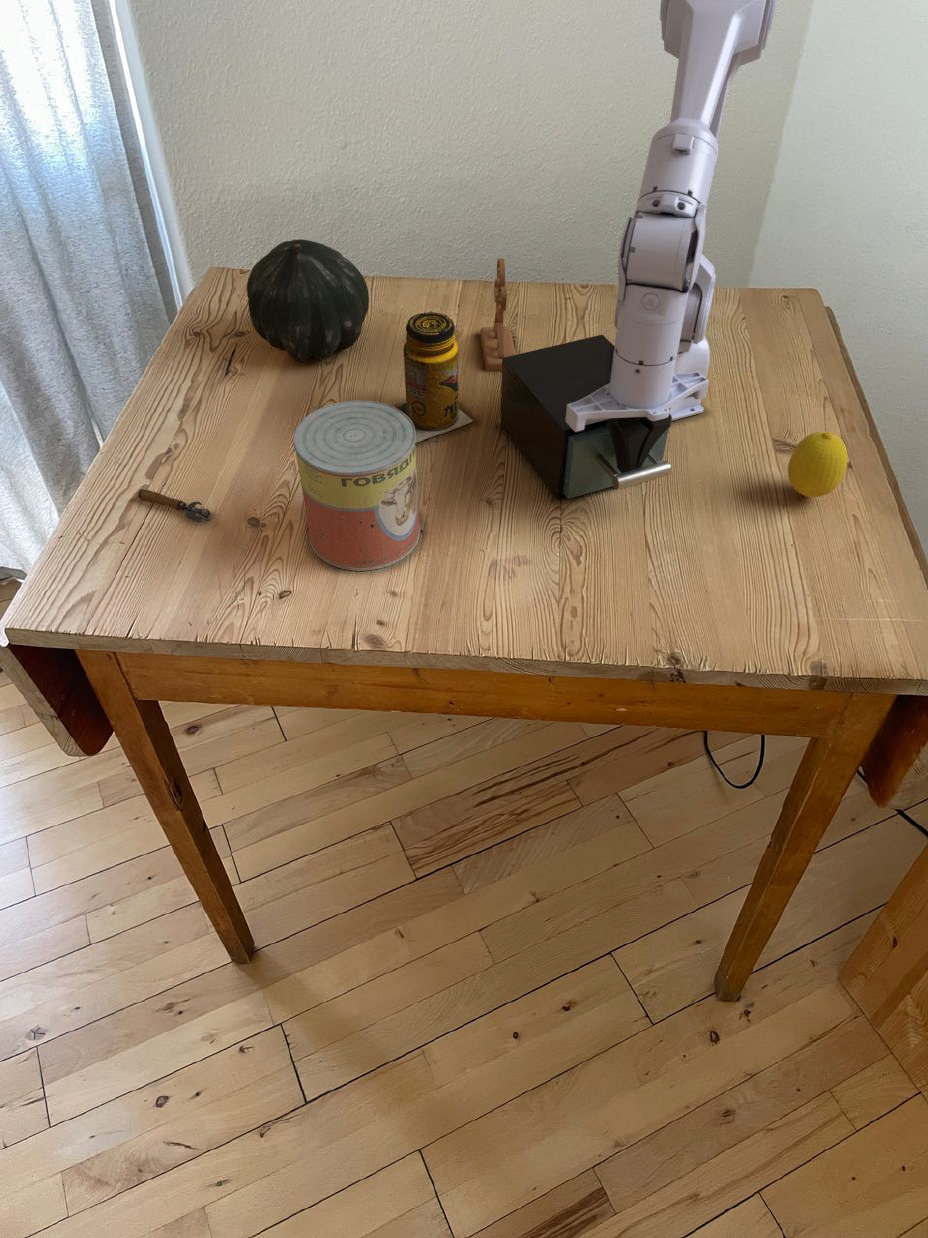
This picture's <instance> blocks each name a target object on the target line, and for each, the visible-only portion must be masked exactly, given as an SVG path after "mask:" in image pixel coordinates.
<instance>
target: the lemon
mask: <svg viewBox="0 0 928 1238" xmlns="http://www.w3.org/2000/svg"><path fill="white" fill-rule="evenodd" d="M848 457H849V456H848V450H847V447H846V444H845V442H844V441H843V440H842V439H841V438H840V437H839V436H838V435H836V434H834V433H833V432H831V431H817V432H813V433H810V434H808V435H806V436H805V437H803V438H802V440H800V442H799V443H798V444H797V445H796V446H795V448H794V450H793V451H792V453H791V456H790V458H789V462H788V466H787V477H788V481H789V483H790V485H791V486H792V488H793V489H794V490H795V491H796V493H798V494H800V495H802V496H803V497H805V498H818V497H823V496H825V495H828V494H830V493H831V492H832V491H834V490H835V489H836V488H838V486H839V484H840V483H841V481H843V479H844V476H845V474H846V471H847V467H848Z"/></svg>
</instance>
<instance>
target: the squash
mask: <svg viewBox="0 0 928 1238" xmlns="http://www.w3.org/2000/svg"><path fill="white" fill-rule="evenodd" d="M249 273H250V274H249V276H248V279H247V282H246V283H247V284H246V295H247V299H248V303H247V304H248V305H247V306H248V313H249V316H250V321H251V324H252V327H253V328H254V330H255V332H256V333H257V334H258V335H259V336H260V337H261V338H262V339H264V340H265V341H266V342H267V343H268V344H269V345H270V346H271V347H273V348H275V349H277V350H281V351H285V352H287V353H288V355H289V356H290V357H291V358H292V359H294V360H296V361H297V362H304V361H307V360H308V359H309V358H310V357H311V356H312V355H313V356H314V357H315V358H316V359H319V360H323V361H324V360H327V359H329V358H330V357H331V356H332V355H334V353H335V352H336V350H338V351H344V350H347V349H349V348H351V347H352V346H354V345H355V344H356V342H357V341H358V340H359V338H360V335H361V334H362V329H363V324H364V322H365V320H366V317H367V314H368V311H369V307H370V306H369V305H370V295H369V287H368V285H367V283H366V280H365V278H364V276H363V274H362V273H361V272H360V270H359V269H358V268H357V267H356V265H354V263H352V262H351V261H350V260H349V259H348V258H346V257H345V256H344V255H343V254H342V253H340V252H339V251H338V250H336V249H335V248H332V247H329V245H325V244H323V243H320V242H316V241H312V240H309V239H301V238H300V239H291V240H286V241H283V242H280V243H279V244H277V245H276V246H274V247H273V248H272V249H270V251H269V252H268V253H267V254H266V255H264V256H263V257H262V258H261V259H259V260H258V261H257V262H256V263H255V264H254V266H253V267H252V268H251V271H250V272H249Z"/></svg>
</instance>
